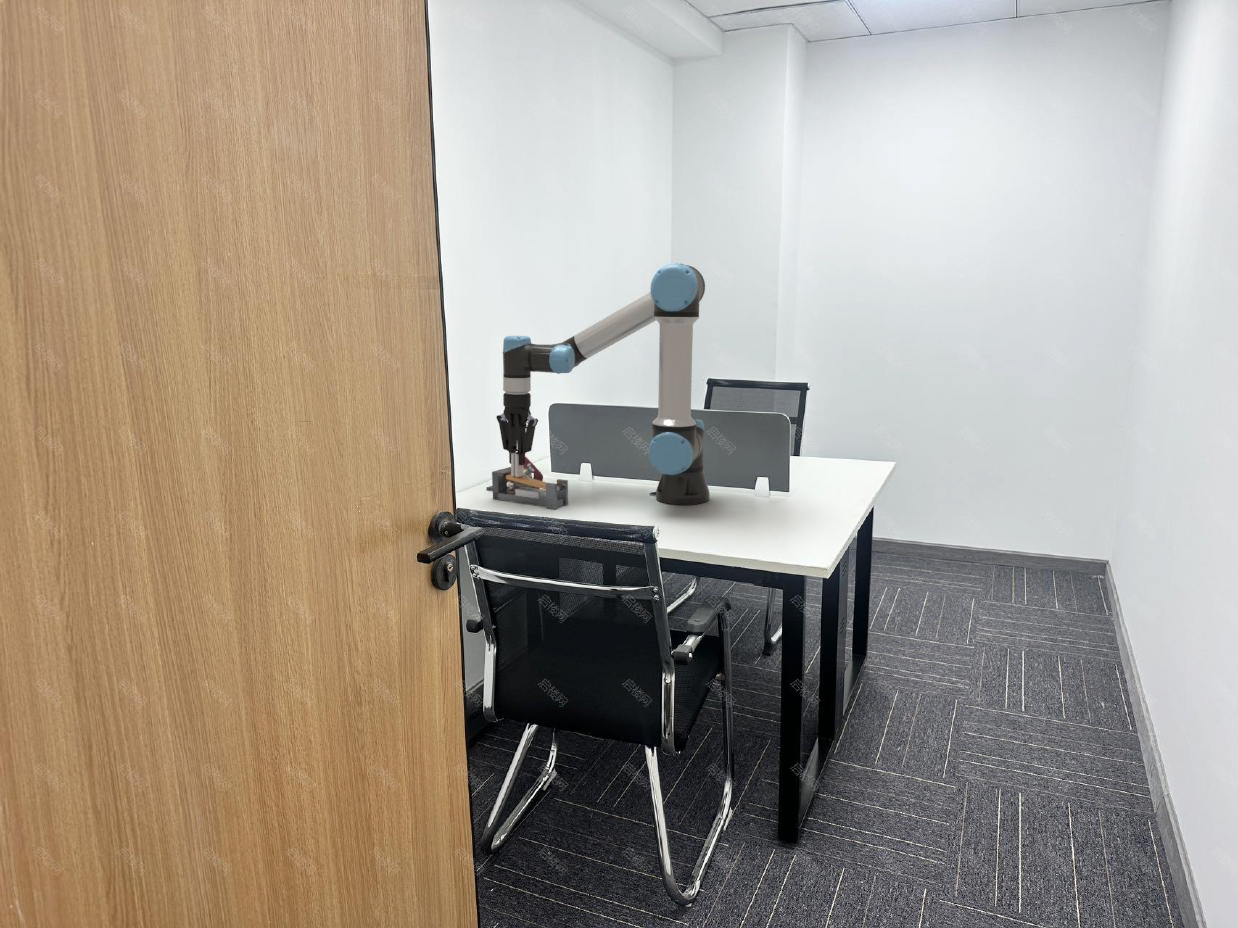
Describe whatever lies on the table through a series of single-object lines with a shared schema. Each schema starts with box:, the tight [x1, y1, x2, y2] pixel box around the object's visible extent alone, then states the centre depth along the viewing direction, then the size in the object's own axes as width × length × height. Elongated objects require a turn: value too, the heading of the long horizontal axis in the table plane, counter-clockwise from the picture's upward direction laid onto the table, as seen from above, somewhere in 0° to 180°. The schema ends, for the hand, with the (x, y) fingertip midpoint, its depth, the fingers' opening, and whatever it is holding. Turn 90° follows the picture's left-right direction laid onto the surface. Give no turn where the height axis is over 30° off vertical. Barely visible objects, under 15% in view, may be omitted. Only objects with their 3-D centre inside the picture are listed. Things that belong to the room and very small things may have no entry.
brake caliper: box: [507, 455, 544, 491], centre depth 246 cm, size 11×11×12 cm
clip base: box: [491, 468, 569, 510], centre depth 236 cm, size 22×6×8 cm, turn 59°
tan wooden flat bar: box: [506, 474, 562, 491], centre depth 235 cm, size 17×3×1 cm, turn 59°
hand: (517, 475), depth 237 cm, fingers closed
